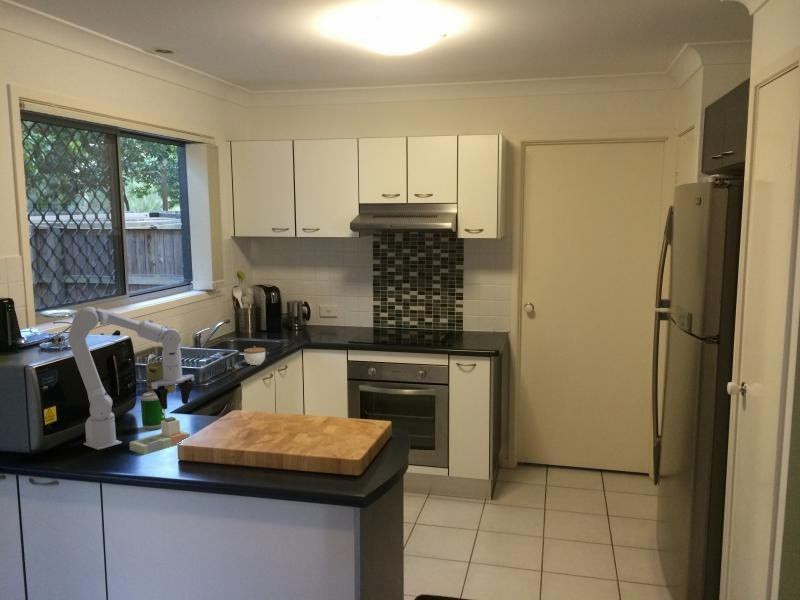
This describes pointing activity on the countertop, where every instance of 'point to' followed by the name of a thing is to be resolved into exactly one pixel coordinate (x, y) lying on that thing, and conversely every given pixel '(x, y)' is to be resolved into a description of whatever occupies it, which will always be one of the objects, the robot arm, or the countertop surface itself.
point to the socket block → (156, 442)
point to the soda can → (151, 411)
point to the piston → (156, 376)
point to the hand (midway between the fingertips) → (174, 406)
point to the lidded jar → (254, 355)
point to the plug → (170, 427)
